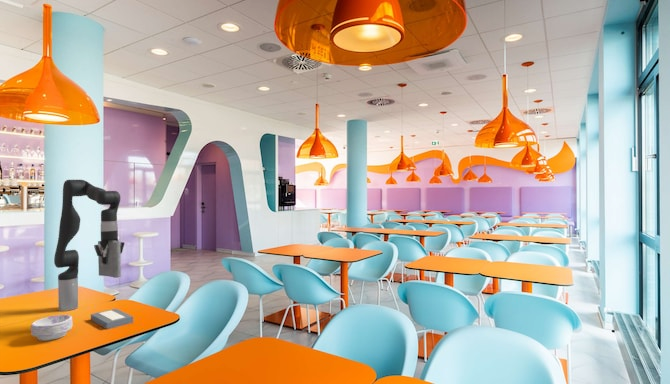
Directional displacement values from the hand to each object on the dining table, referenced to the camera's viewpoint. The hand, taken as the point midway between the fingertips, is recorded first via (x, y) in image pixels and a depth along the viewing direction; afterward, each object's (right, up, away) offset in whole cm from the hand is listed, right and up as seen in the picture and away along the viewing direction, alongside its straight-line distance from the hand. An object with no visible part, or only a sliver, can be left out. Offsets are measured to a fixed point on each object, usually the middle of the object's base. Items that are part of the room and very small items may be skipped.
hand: (109, 263), depth 196 cm
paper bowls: (-14, -30, -21) cm, 39 cm away
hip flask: (0, -6, 0) cm, 6 cm away
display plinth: (+1, -30, 0) cm, 30 cm away
